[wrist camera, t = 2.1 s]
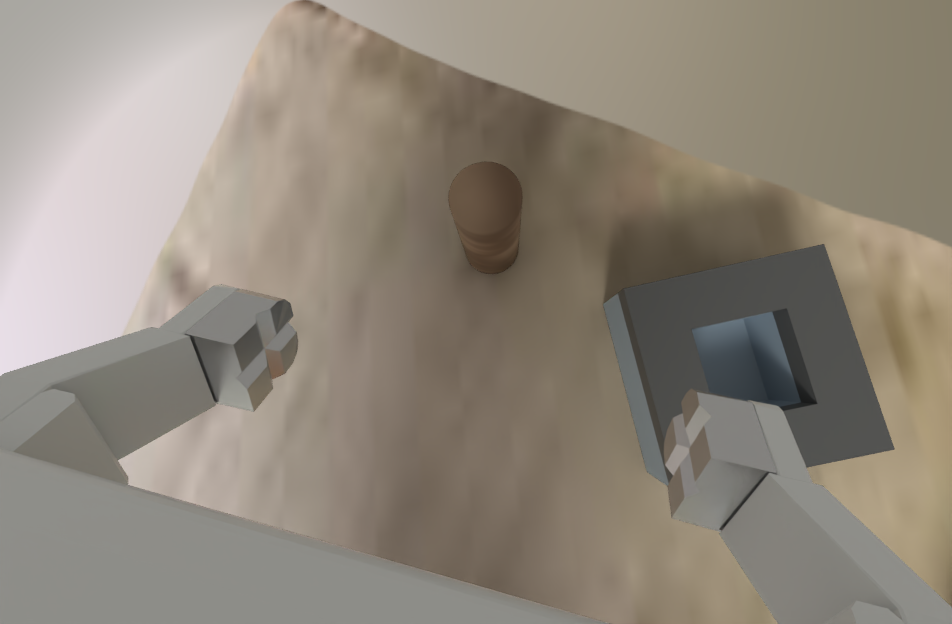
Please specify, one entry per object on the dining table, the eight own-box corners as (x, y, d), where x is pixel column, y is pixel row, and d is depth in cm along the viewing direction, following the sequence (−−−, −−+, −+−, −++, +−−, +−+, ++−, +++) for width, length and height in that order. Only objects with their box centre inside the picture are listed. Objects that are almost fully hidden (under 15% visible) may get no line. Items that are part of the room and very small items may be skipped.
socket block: (646, 471, 32) (678, 493, 26) (603, 304, 34) (623, 288, 28) (821, 435, 31) (894, 449, 25) (767, 267, 33) (823, 243, 27)
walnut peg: (471, 279, 35) (456, 239, 25) (460, 229, 35) (441, 171, 25) (523, 267, 34) (529, 223, 24) (511, 217, 35) (513, 154, 25)
